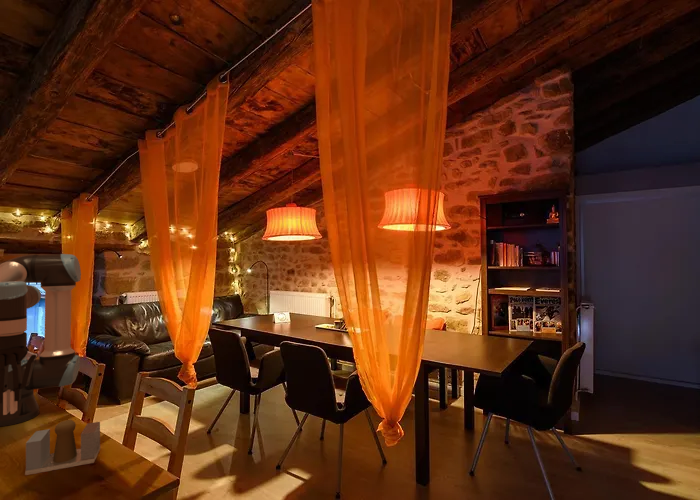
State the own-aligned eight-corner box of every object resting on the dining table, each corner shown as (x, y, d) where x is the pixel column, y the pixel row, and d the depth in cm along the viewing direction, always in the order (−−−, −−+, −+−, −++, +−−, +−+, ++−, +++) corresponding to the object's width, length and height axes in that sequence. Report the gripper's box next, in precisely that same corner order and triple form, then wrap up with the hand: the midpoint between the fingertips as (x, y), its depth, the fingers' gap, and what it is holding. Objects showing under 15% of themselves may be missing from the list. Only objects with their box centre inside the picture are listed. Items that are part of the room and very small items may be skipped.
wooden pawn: (80, 455, 120) (80, 420, 120) (58, 464, 114) (58, 428, 115) (71, 450, 123) (71, 416, 123) (49, 459, 118) (49, 423, 118)
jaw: (36, 456, 119) (36, 431, 119) (49, 454, 120) (49, 429, 120) (25, 470, 112) (25, 442, 112) (40, 467, 113) (40, 440, 113)
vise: (36, 459, 119) (36, 430, 120) (100, 448, 126) (100, 421, 126) (25, 475, 111) (25, 443, 111) (94, 462, 118) (94, 432, 118)
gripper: (43, 329, 120) (43, 404, 120) (-14, 333, 114) (-14, 411, 114) (34, 333, 113) (34, 413, 113) (-27, 338, 108) (-27, 421, 107)
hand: (10, 412), depth 114 cm, fingers closed
